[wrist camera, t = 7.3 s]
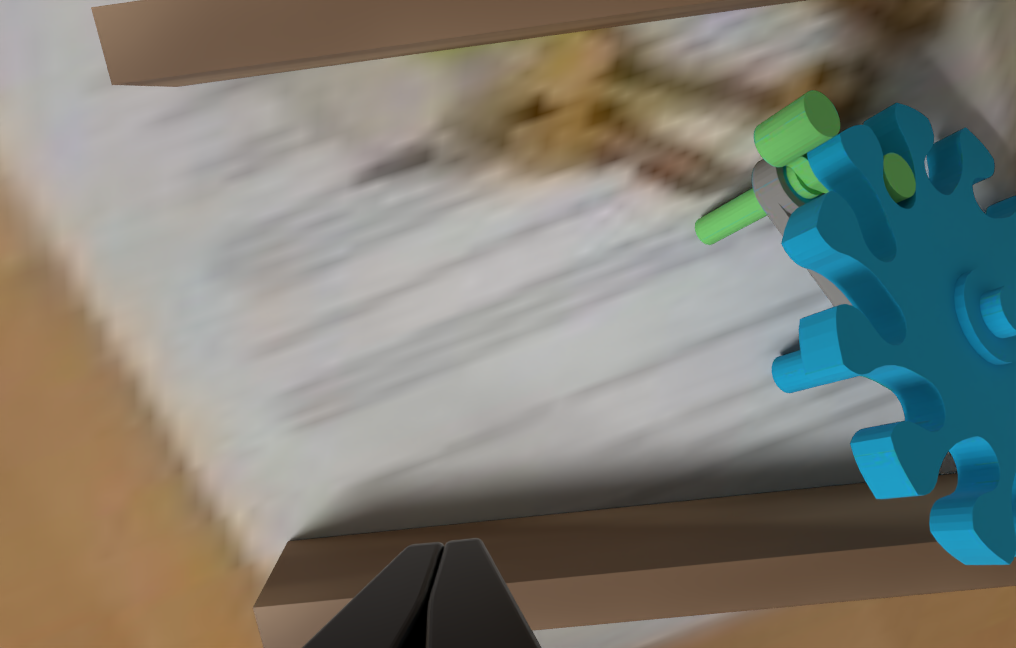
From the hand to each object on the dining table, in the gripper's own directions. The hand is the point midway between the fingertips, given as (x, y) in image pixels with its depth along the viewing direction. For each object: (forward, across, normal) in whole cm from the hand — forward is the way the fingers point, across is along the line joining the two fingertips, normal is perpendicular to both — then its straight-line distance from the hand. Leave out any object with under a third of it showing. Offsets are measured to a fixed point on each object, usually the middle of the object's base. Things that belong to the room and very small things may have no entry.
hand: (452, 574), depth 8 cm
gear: (+12, -10, 0) cm, 16 cm away
